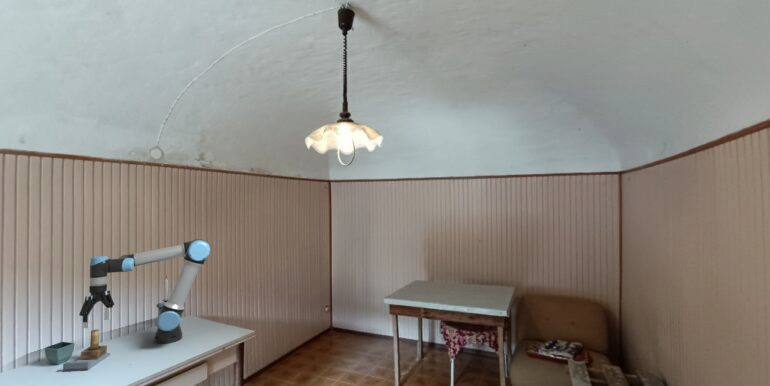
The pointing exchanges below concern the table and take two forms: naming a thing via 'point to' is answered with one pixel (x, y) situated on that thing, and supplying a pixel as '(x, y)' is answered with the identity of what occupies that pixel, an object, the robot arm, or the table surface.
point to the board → (82, 364)
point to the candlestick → (165, 292)
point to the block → (93, 353)
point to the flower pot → (59, 352)
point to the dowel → (94, 340)
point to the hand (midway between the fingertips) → (97, 323)
